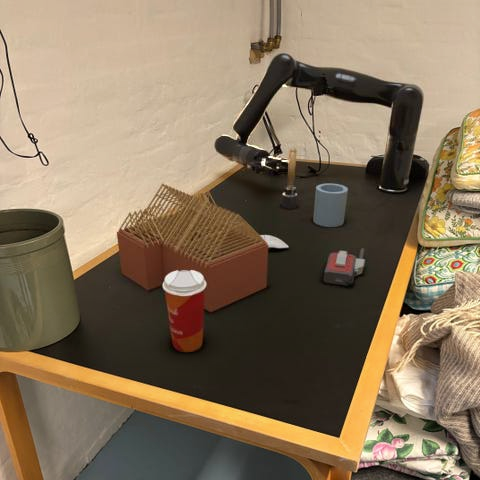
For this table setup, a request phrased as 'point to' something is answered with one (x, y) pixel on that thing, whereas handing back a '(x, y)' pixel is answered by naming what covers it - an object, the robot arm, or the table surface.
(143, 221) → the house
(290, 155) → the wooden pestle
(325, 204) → the jar
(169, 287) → the paper cup
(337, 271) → the walkie-talkie
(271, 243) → the pincushion
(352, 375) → the table surface
